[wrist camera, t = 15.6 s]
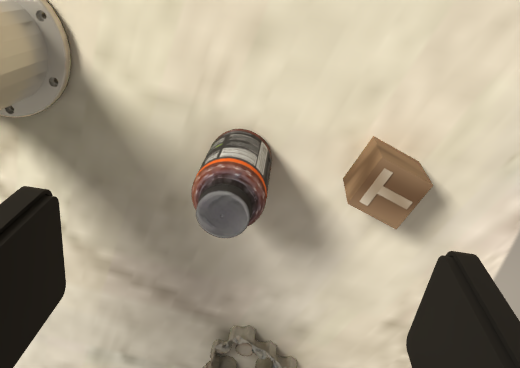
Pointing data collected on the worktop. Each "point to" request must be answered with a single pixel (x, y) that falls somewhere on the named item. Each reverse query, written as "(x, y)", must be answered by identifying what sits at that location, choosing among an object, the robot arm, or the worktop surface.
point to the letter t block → (385, 183)
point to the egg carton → (248, 351)
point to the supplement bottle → (232, 183)
